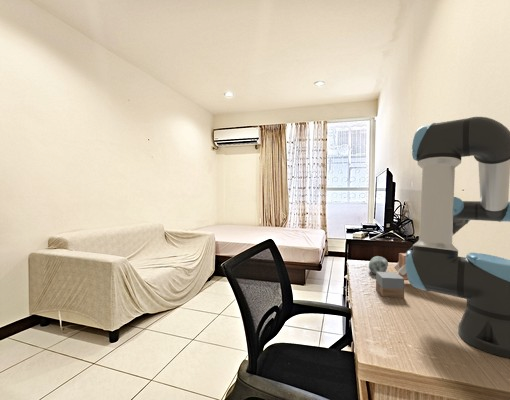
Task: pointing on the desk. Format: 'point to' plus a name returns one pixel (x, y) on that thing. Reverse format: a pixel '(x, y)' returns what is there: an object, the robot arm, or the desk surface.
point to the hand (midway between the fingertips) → (398, 271)
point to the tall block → (402, 264)
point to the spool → (378, 264)
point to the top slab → (390, 280)
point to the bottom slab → (390, 292)
